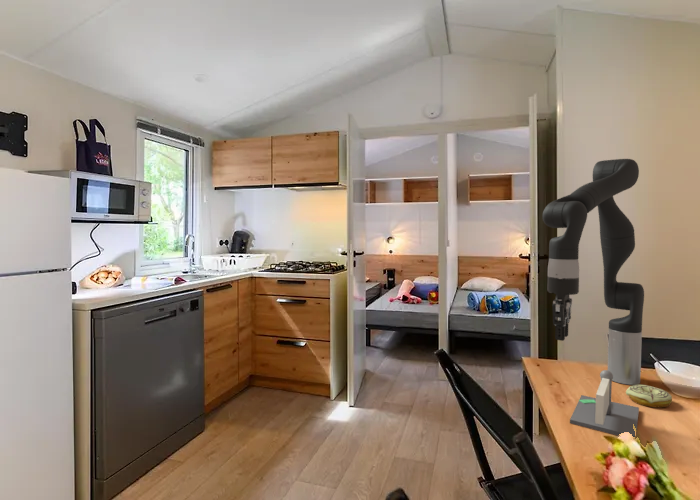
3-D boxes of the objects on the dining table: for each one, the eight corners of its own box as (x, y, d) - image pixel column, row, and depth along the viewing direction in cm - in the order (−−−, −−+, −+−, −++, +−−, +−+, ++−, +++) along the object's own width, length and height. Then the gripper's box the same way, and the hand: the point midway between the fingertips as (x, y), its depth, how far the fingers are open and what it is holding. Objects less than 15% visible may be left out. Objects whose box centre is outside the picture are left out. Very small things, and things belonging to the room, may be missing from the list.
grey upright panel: (602, 400, 115) (603, 361, 115) (614, 402, 113) (616, 363, 113) (591, 433, 96) (592, 386, 95) (606, 437, 94) (607, 389, 94)
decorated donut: (618, 397, 120) (618, 385, 120) (642, 392, 124) (642, 380, 124) (655, 412, 111) (655, 398, 111) (679, 406, 115) (680, 393, 114)
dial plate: (581, 398, 119) (581, 394, 119) (638, 411, 111) (638, 406, 111) (569, 423, 104) (569, 418, 104) (635, 440, 95) (635, 435, 95)
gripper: (553, 272, 115) (552, 331, 116) (541, 276, 104) (540, 341, 105) (582, 274, 110) (581, 335, 111) (574, 278, 99) (572, 346, 100)
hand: (561, 337), depth 108 cm, fingers open, 4 cm apart
